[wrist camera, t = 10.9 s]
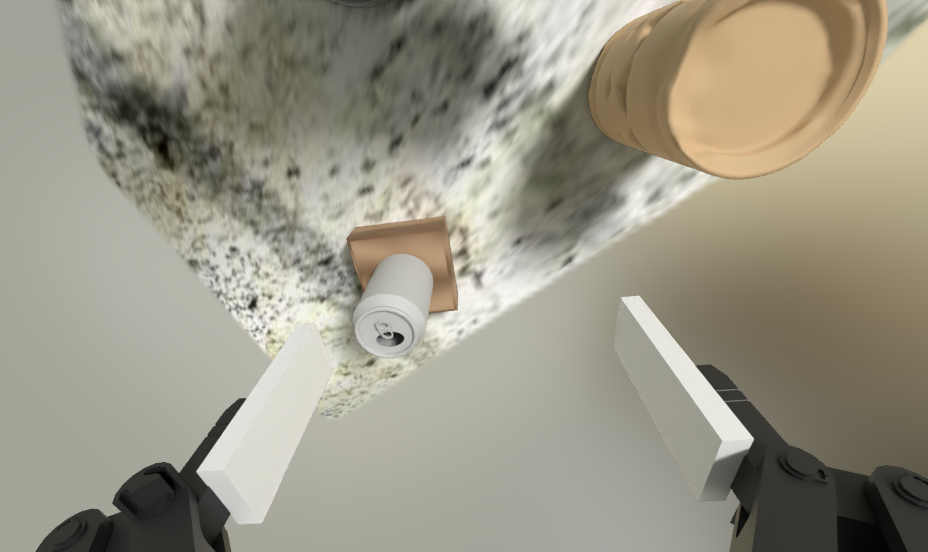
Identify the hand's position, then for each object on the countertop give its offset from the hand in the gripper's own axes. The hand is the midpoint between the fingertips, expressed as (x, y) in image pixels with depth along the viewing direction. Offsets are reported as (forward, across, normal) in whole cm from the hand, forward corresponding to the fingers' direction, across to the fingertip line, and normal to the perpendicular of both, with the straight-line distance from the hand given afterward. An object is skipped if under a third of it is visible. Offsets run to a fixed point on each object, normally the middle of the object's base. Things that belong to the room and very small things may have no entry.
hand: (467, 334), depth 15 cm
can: (+27, -9, -11) cm, 31 cm away
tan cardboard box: (+31, -9, -11) cm, 34 cm away
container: (+32, +20, +7) cm, 38 cm away
